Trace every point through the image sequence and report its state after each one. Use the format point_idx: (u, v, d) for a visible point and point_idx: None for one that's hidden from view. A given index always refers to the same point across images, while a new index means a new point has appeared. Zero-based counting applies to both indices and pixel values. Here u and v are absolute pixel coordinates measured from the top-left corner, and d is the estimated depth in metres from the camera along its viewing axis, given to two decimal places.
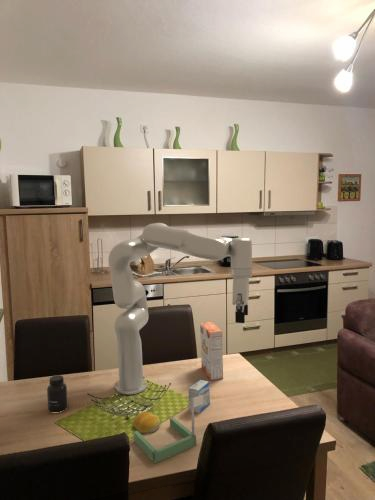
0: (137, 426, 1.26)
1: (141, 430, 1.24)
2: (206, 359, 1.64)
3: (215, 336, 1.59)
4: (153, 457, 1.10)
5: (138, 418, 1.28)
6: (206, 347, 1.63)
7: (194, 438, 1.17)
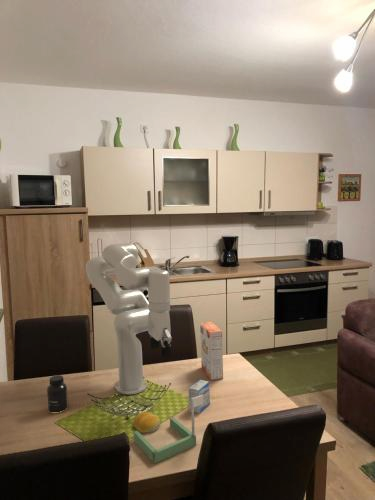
0: (137, 426, 1.26)
1: (141, 430, 1.24)
2: (206, 359, 1.64)
3: (215, 336, 1.59)
4: (153, 457, 1.10)
5: (138, 418, 1.28)
6: (206, 347, 1.63)
7: (194, 438, 1.17)
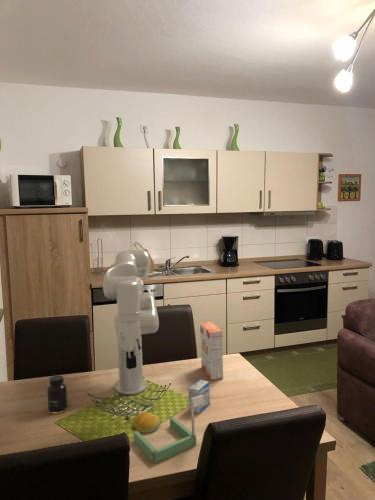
0: (137, 426, 1.27)
1: (141, 430, 1.25)
2: (206, 359, 1.64)
3: (215, 336, 1.59)
4: (153, 457, 1.10)
5: (138, 418, 1.28)
6: (206, 347, 1.63)
7: (194, 438, 1.17)
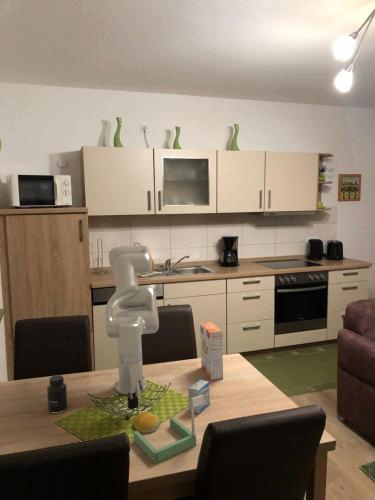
0: (137, 426, 1.27)
1: (141, 430, 1.25)
2: (206, 359, 1.64)
3: (215, 336, 1.59)
4: (153, 457, 1.10)
5: (138, 418, 1.28)
6: (206, 347, 1.63)
7: (194, 438, 1.17)
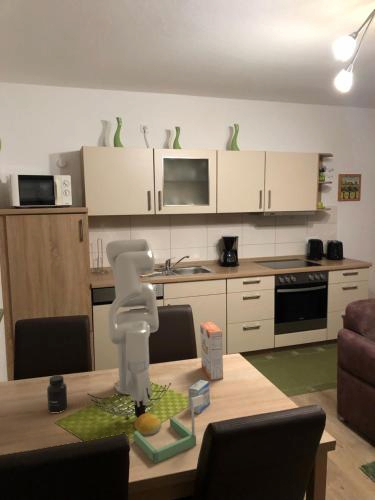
0: (138, 427, 1.26)
1: (142, 432, 1.24)
2: (206, 359, 1.64)
3: (215, 336, 1.59)
4: (153, 457, 1.10)
5: (139, 419, 1.27)
6: (206, 347, 1.63)
7: (194, 438, 1.17)
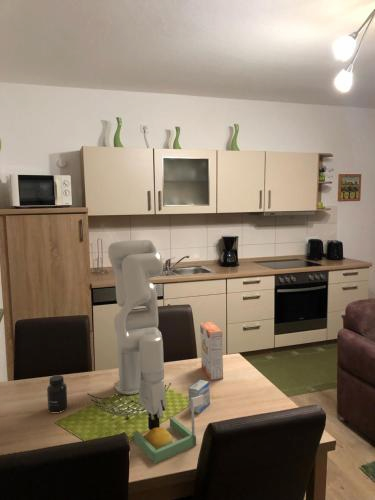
0: None
1: None
2: (206, 359, 1.64)
3: (215, 336, 1.59)
4: (153, 457, 1.10)
5: (149, 433, 1.19)
6: (206, 347, 1.63)
7: (194, 438, 1.17)
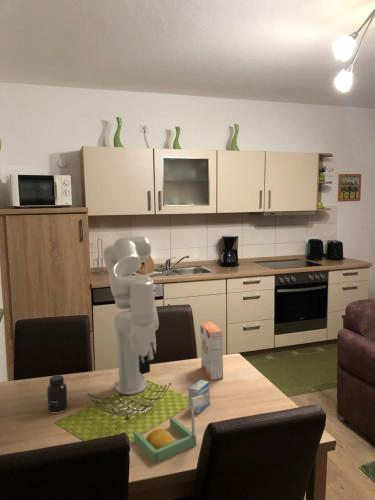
0: None
1: None
2: (206, 359, 1.64)
3: (215, 336, 1.59)
4: (153, 457, 1.10)
5: (150, 435, 1.18)
6: (206, 347, 1.63)
7: (194, 438, 1.17)
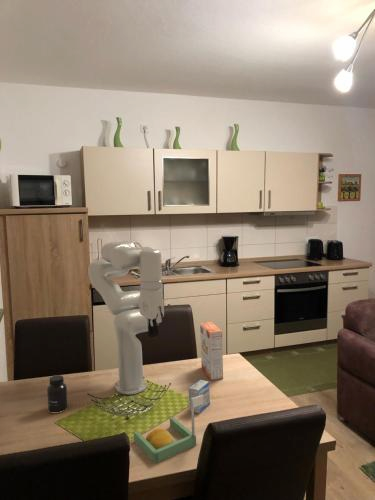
0: None
1: None
2: (206, 359, 1.64)
3: (215, 336, 1.59)
4: (153, 457, 1.10)
5: (150, 435, 1.18)
6: (206, 347, 1.63)
7: (194, 438, 1.17)
